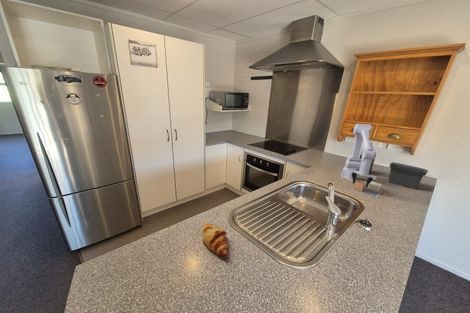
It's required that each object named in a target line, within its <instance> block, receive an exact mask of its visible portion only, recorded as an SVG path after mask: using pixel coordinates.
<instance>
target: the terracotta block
mask: <svg viewBox="0 0 470 313" xmlns="http://www.w3.org/2000/svg"><path fill="white" fill-rule="evenodd" d="M365 184H367V182H363V181H360V180H356V181H355V183H354V186H353V187H354V189H355V190H358V191H361V192H362V191H363V190H364V187H365Z"/></svg>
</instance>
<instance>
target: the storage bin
mask: <svg viewBox="0 0 470 313" xmlns="http://www.w3.org/2000/svg"><path fill="white" fill-rule="evenodd" d="M389 168H390V171H389V175H388V182H389V183H391V184H392V183H393V184H396V185H400V186H403V187H406V188H411V189H415V190H417V189H418V187H419V185H420V183H421V181H422V180H423V177H426V176H427V173H429V170H428V169H426V168H422V167H417V166H414V165H413V166H412V165H409V164H404V163H399V162H394V161H393V162H392V161H391V162H390V164H389Z"/></svg>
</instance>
